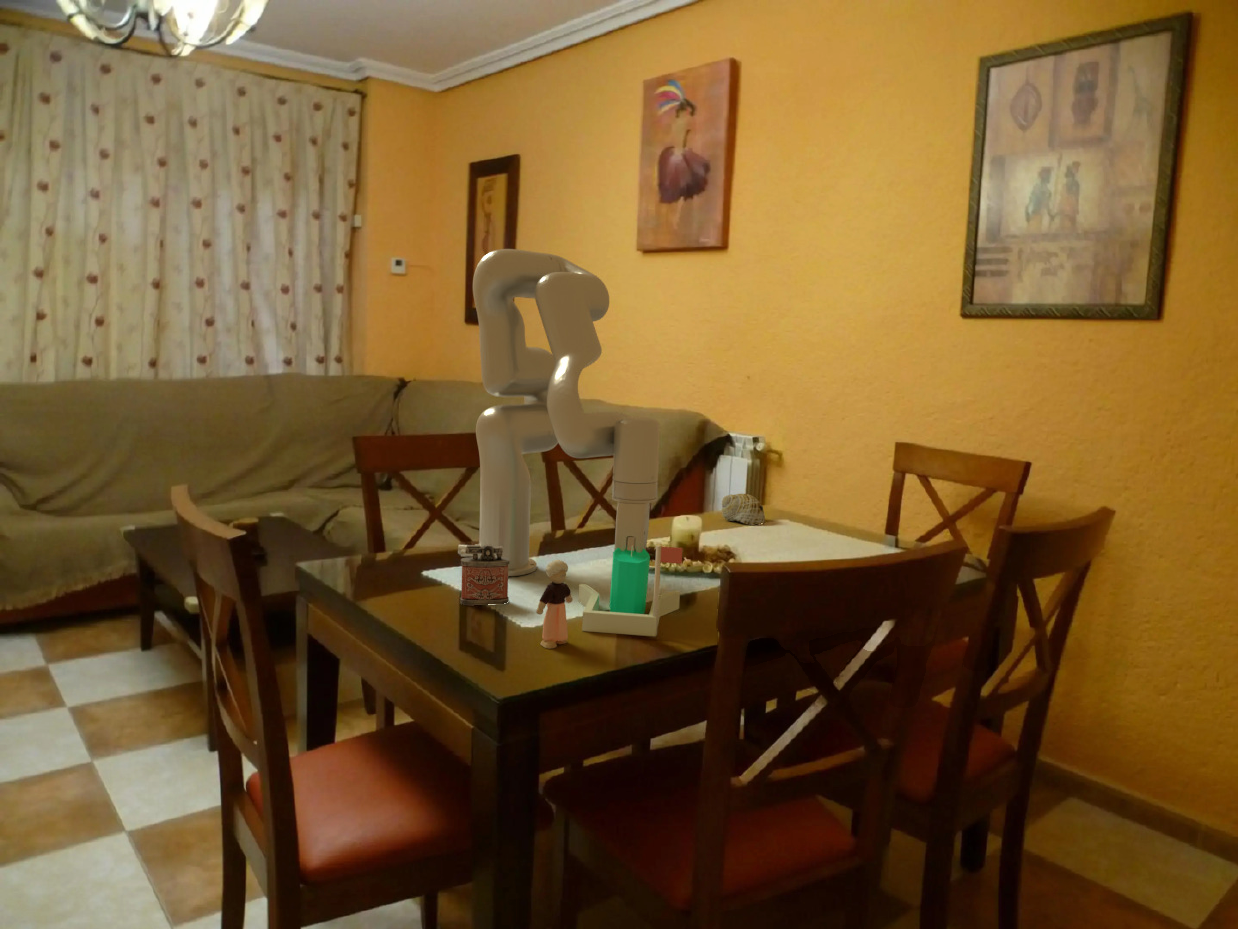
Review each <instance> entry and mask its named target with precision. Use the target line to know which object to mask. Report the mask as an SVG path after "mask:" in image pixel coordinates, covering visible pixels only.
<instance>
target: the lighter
mask: <svg viewBox="0 0 1238 929" xmlns="http://www.w3.org/2000/svg"><path fill="white" fill-rule="evenodd" d="M466 545H467V546H466V550H465V553H466V554H473V557H464V558H461V559H460V565H461V596H460V602H459V603H460V604H461V605H462V604H463V605H462V606H474V605H488V604H504V603H507V602H508V601H510V600H509V596H508V594H509V591H508V590H509V576H508V565H509V563H510V559H508V558H502V557H501V556H502V553H503V547H502V546H491V544H485V545H484V546H480V545H475V544H474V545H473V544H466ZM478 554H481V556H480V557H478ZM494 554H496V555H497V557H495V555H494ZM508 603H509V602H508Z"/></svg>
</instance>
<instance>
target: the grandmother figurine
mask: <svg viewBox="0 0 1238 929" xmlns="http://www.w3.org/2000/svg"><path fill="white" fill-rule="evenodd" d="M568 570H569V565H568V564H567V563H566V562H565V561H564V560H560V559H557V558H556V559H555V560H552V561H551V562H549V563H548V564H547V565H546V567H545V572H546V575H547V577H548V578H549V580H550V583H549V584H547V586H546V588H545V590H544V592H543V593H542V595H541V597H540V599H539V603H538V605H537V609H536V610H535V612H536V614H537V615H540V616H541V615H543V613H544V610H545V608H546V607H547V609H546V612H545V614H544V618H543V625H542V626H543V627H542V636H541V638H542V639H543V640H541V642H540V644H539V645H540V646H542V647H543V648H545V649H550V650H551V649H555V648H557V647H558V645H563V644H567V643H568V639H569V635H568V634H569V632H568V621H567V620H568V619H567V611H566V603H568V604H570V603H572V602H573V597H572V593H571V592H572V590H571V589H570V587H569V585H568V583H565V581H566V579H567V572H568Z"/></svg>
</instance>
